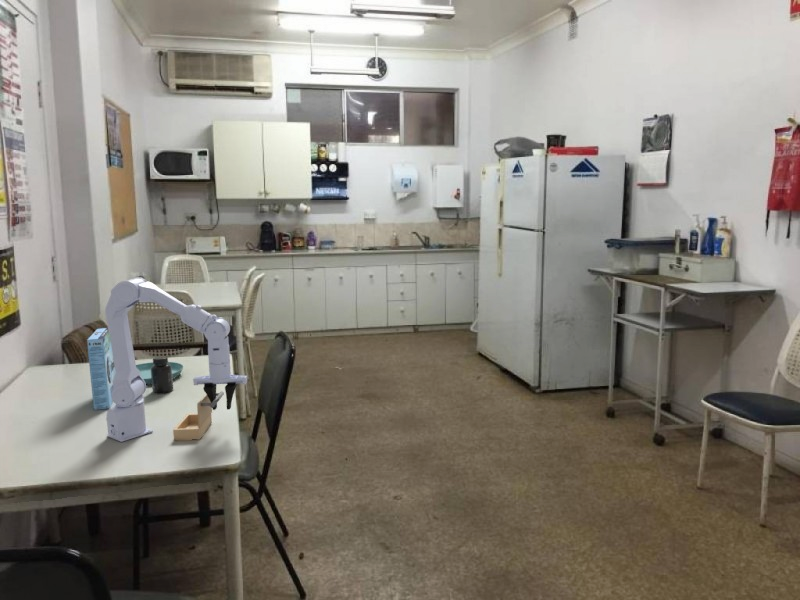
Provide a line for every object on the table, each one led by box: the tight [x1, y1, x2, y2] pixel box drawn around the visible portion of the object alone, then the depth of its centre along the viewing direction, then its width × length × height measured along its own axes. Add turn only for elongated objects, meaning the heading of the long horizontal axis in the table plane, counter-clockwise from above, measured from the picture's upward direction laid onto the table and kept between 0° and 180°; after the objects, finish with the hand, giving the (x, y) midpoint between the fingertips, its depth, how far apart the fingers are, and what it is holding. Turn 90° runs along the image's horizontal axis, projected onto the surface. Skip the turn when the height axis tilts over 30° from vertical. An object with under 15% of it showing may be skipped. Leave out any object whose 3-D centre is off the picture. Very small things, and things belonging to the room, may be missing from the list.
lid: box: [196, 391, 225, 428], centre depth 171 cm, size 7×13×4 cm
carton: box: [172, 413, 213, 442], centre depth 172 cm, size 7×13×3 cm, turn 3°
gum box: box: [86, 327, 116, 411], centre depth 200 cm, size 20×5×23 cm, turn 17°
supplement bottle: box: [151, 355, 174, 395], centre depth 210 cm, size 7×7×12 cm
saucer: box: [136, 361, 184, 385], centre depth 229 cm, size 24×24×3 cm
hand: (222, 408), depth 172 cm, fingers open, 3 cm apart
